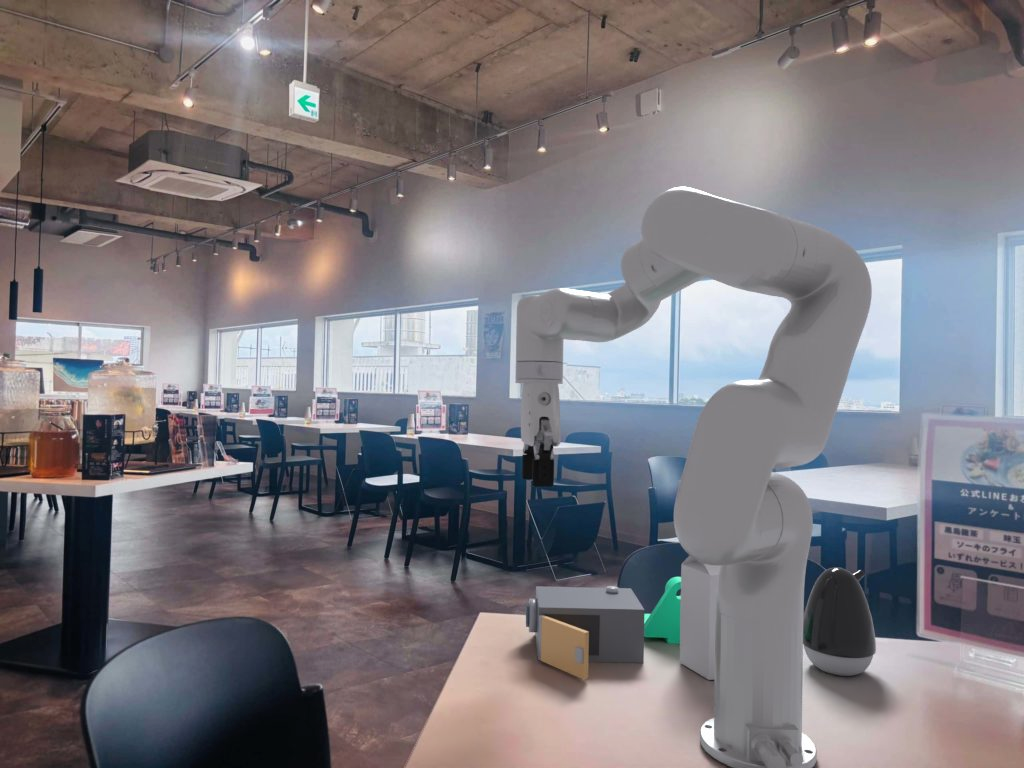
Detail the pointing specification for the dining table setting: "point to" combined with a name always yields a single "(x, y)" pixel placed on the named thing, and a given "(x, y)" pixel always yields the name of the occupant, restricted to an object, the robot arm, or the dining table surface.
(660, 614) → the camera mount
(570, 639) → the tan cabinet door
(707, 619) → the milk carton
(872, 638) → the black and white egg
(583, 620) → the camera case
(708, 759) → the dining table surface
